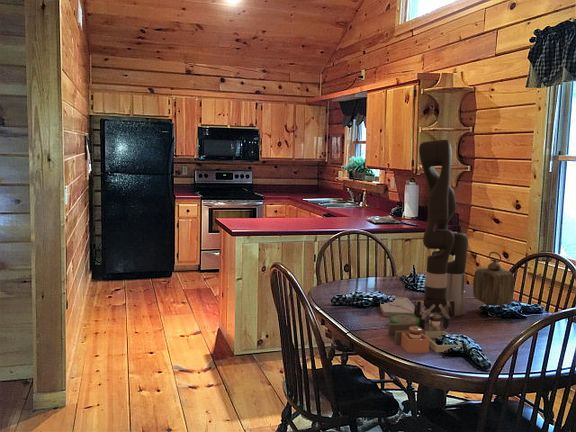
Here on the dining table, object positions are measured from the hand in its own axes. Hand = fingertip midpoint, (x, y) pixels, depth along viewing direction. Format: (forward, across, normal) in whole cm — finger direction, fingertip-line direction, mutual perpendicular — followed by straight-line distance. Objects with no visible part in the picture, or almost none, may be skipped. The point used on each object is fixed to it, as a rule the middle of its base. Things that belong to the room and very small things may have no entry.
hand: (433, 328), depth 194 cm
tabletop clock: (+2, -35, -25) cm, 43 cm away
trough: (+2, +2, +11) cm, 11 cm away
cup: (+2, +12, +15) cm, 19 cm away
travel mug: (+2, -23, -52) cm, 57 cm away
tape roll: (+3, +7, -11) cm, 13 cm away
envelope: (+3, +3, -33) cm, 33 cm away
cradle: (+2, +12, +5) cm, 14 cm away
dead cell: (+2, +12, +15) cm, 19 cm away
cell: (+2, 0, 0) cm, 2 cm away
